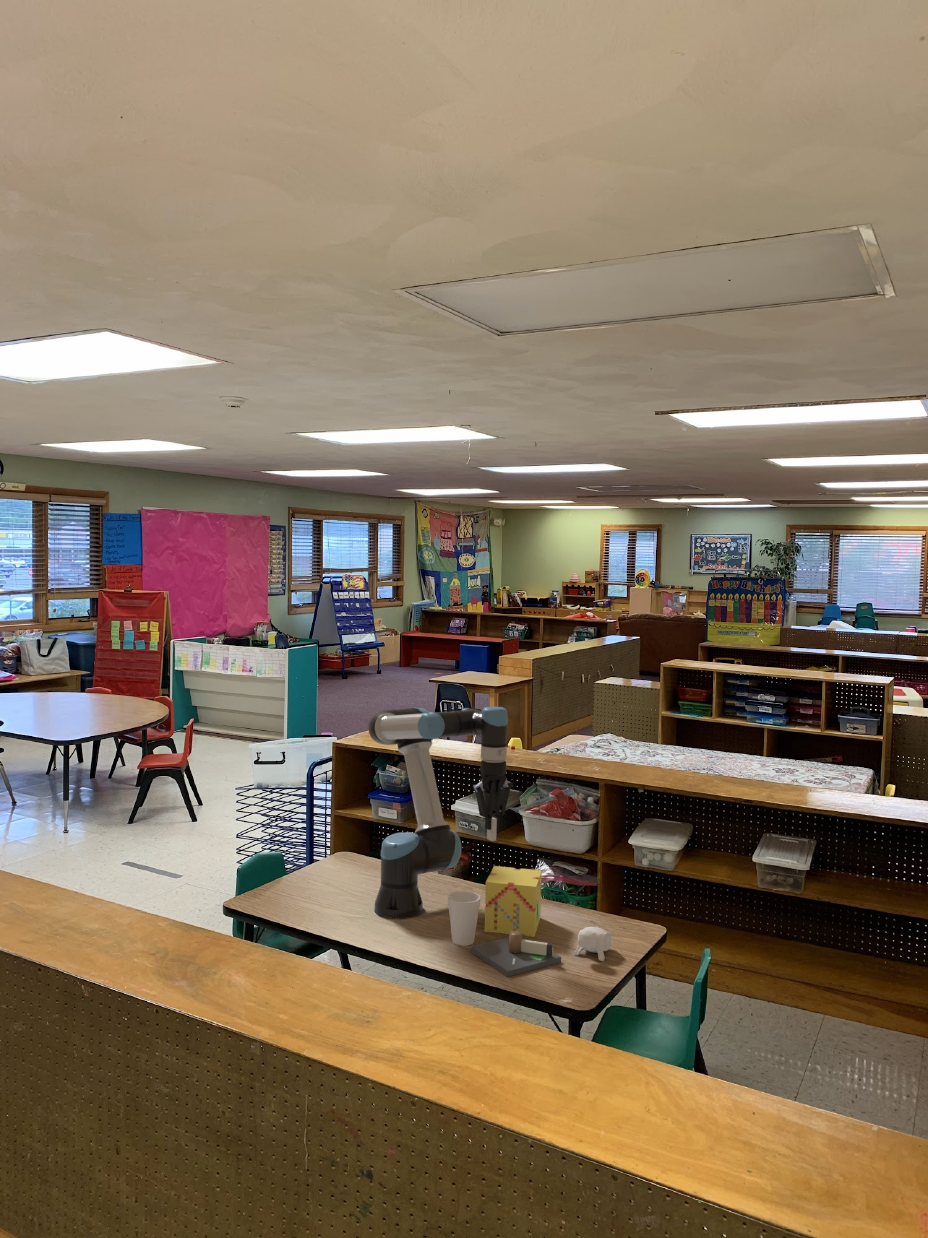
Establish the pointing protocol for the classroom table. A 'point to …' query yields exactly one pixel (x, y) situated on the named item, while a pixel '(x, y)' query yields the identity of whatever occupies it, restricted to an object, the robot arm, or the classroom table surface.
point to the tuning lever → (528, 945)
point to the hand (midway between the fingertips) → (491, 839)
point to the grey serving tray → (511, 957)
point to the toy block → (513, 900)
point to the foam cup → (463, 916)
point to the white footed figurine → (593, 941)
